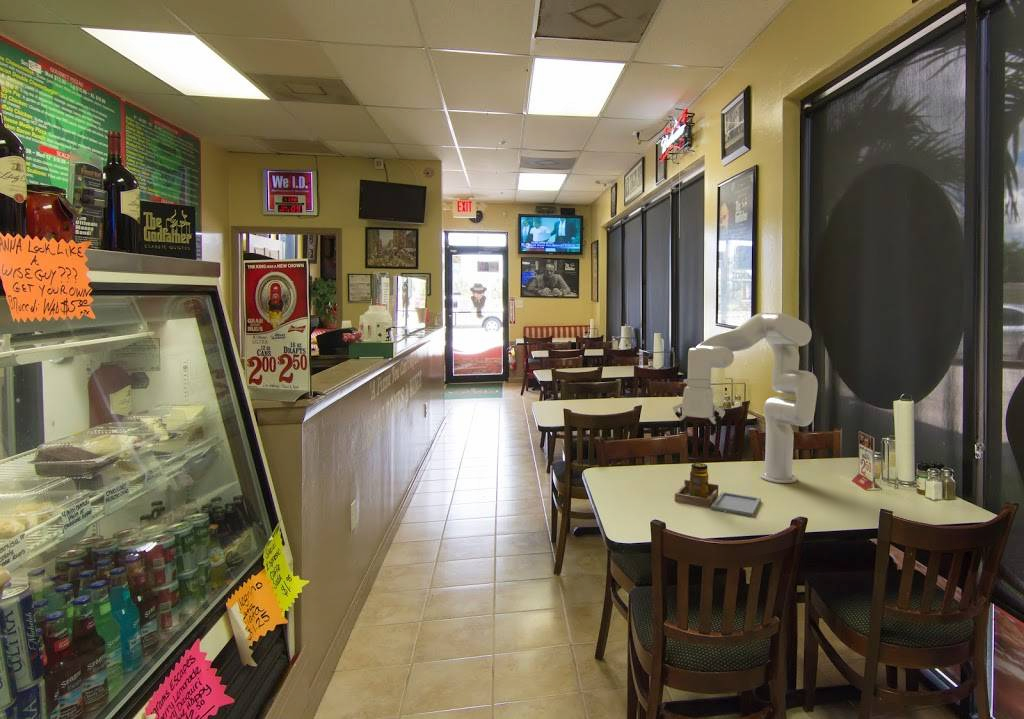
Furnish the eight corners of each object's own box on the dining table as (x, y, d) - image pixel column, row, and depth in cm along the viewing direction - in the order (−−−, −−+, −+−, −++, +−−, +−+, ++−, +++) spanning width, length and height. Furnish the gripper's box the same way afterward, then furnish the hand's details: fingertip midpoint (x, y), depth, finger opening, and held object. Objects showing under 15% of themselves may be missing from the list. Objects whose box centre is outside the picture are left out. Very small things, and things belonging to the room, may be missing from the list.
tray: (722, 494, 192) (722, 491, 192) (760, 501, 186) (760, 498, 186) (711, 509, 179) (711, 505, 179) (752, 516, 172) (752, 513, 172)
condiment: (713, 499, 189) (714, 465, 188) (697, 504, 184) (698, 469, 183) (695, 493, 195) (696, 460, 194) (680, 498, 190) (680, 464, 189)
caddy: (684, 490, 198) (685, 479, 197) (718, 495, 192) (718, 484, 191) (674, 500, 187) (674, 489, 187) (709, 507, 181) (709, 495, 181)
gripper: (670, 383, 187) (669, 432, 189) (723, 386, 178) (721, 438, 179) (676, 380, 193) (675, 428, 195) (728, 384, 184) (726, 433, 186)
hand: (697, 433), depth 187 cm, fingers open, 9 cm apart
